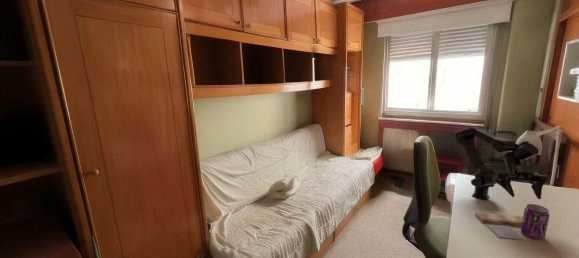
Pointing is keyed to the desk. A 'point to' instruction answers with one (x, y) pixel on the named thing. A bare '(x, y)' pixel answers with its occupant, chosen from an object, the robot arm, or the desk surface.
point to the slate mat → (504, 232)
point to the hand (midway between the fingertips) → (526, 197)
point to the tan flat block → (500, 219)
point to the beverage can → (535, 221)
